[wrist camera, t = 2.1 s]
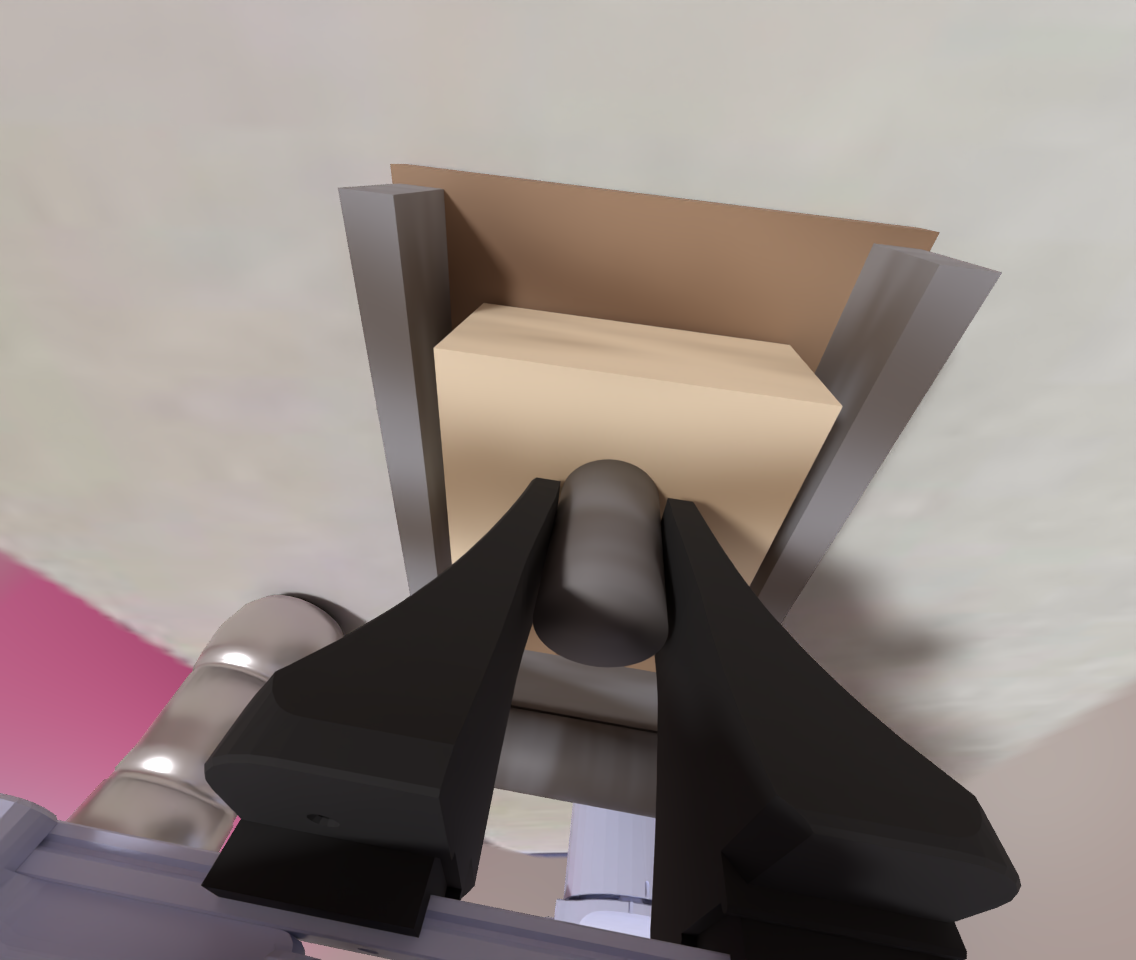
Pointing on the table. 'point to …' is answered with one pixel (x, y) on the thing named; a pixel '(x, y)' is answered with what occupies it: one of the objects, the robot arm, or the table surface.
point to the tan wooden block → (621, 456)
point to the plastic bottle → (204, 727)
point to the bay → (655, 298)
